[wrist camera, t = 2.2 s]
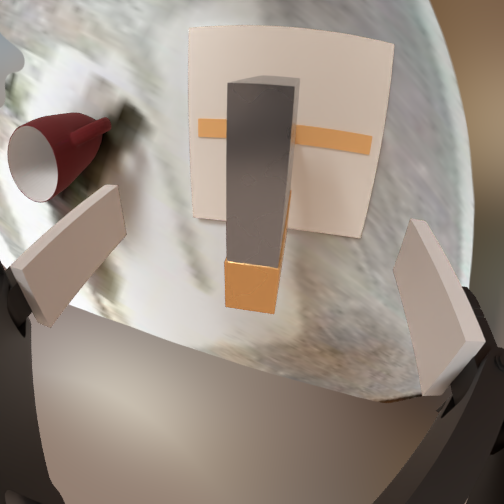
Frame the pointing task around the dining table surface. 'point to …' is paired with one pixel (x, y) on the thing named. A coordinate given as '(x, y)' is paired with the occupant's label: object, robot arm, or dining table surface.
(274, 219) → the grey slab
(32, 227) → the dining table surface
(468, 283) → the dining table surface
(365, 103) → the post base
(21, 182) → the mug
